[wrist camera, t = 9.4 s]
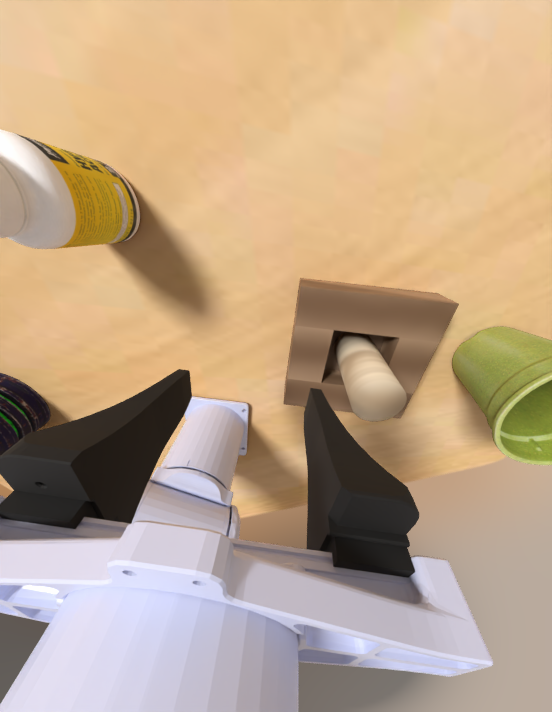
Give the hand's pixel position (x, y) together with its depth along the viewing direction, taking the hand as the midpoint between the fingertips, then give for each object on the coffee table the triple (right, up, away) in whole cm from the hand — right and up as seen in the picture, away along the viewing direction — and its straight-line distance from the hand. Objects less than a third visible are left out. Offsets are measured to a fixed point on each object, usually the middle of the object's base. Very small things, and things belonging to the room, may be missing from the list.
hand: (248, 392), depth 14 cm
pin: (+9, +3, +9) cm, 13 cm away
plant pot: (+22, +2, +9) cm, 24 cm away
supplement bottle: (-12, +14, +5) cm, 19 cm away
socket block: (+9, +3, +9) cm, 13 cm away
